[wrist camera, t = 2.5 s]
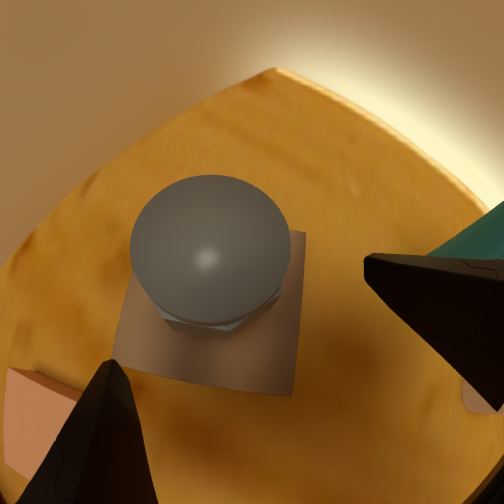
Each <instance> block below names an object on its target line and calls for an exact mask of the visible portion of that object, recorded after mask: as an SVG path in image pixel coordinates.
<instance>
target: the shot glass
mask: <svg viewBox="0 0 504 504" xmlns="http://www.w3.org/2000/svg"><path fill="white" fill-rule="evenodd" d="M462 398H463V404H464V405H465V407H466V409H467V410H469V411H471V412H474V413H486V414H501V415H504V404H503V405H502V407H501V408H500V410H499V411H498V412H496V411H495V410H494V409H493V408H492V407H491V406H490V405H489V404H488V403H487V402H486V401H485V400H484V399H483V398H482V397H481V396H480V394H479V393H478V392H477V391H476V390H475V389H474V388H473V387H472V386H471V385H470V384H469V383H468V382H467V381H466V380H465V379H463V382H462Z"/></svg>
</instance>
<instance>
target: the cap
mask: <svg viewBox="0 0 504 504" xmlns="http://www.w3.org/2000/svg"><path fill="white" fill-rule="evenodd" d="M130 255H131V262H132V268H133V270H134V273H135V275H136V277H137V279H138V281H139V283H140V284H141V286H142V287H143V289H144V290H145V292H146V293H147V294H148V295H149V297H150V298H151V300H152V302H153V303H154V305H155V307H156V308H157V310H158V311H159V313H160V315H161V316H162V319H163V320H164V321H165V322H166V323H167V324H168V325H169V326H170V327H171V328H172V329H173V330H177V331H182V332H187V333H192V334H197V335H202V336H207V337H213V338H219V339H225V340H228V339H229V338H231V337H232V336H234V335H235V334H236V333H238V332H239V331H241V330H242V329H243V328H245V327H246V326H248V325H249V324H250V323H252V322H253V321H255V320H256V319H257V318H259V317H260V316H261V315H263V314H264V313H266V312H267V311H268V310H270V309H271V308H272V306H273V305H274V304H275V302H276V301H277V300H278V298H279V297H280V295H281V294H282V286H283V278H284V276H285V274H286V272H287V268H288V265H289V262H290V256H291V238H290V232H289V229H288V225H287V223H286V220H285V218H284V216H283V214H282V213H281V211H280V209H279V208H278V207H277V205H276V204H275V203H274V202H273V201H272V200H271V199H270V198H269V197H268V196H267V195H266V194H265V193H264V192H262V191H261V190H260V189H258V188H256V187H255V186H253V185H251V184H249V183H247V182H245V181H242V180H239V179H236V178H233V177H228V176H221V175H202V176H195V177H190V178H186V179H183V180H180V181H178V182H176V183H174V184H171V185H169V186H168V187H166V188H165V189H163V190H161V191H160V192H159V193H158V194H156V195H155V196H154V197H153V198H152V199H151V200H150V201H149V202H148V203H147V204H146V206H145V207H144V208H143V210H142V211H141V213H140V215H139V216H138V218H137V220H136V223H135V225H134V228H133V231H132V235H131V242H130Z"/></svg>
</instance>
